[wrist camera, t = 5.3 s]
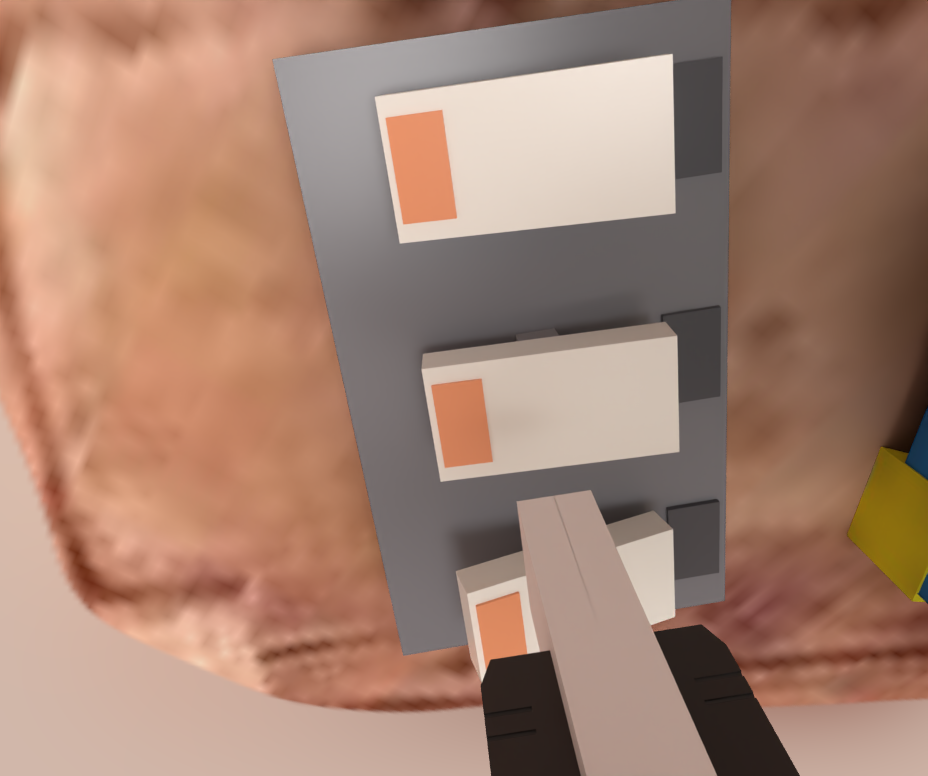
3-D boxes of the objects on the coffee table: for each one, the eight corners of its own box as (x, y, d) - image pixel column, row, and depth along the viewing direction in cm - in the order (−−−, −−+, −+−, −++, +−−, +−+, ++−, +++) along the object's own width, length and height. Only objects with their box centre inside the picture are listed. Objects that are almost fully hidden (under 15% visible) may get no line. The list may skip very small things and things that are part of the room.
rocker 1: (664, 54, 18) (673, 53, 16) (667, 202, 19) (675, 214, 18) (386, 93, 19) (373, 96, 18) (409, 231, 20) (399, 244, 19)
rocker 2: (663, 319, 21) (678, 337, 20) (666, 429, 22) (680, 453, 21) (423, 351, 21) (421, 370, 20) (441, 458, 23) (440, 483, 21)
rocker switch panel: (676, 6, 23) (743, -11, 18) (685, 538, 31) (733, 613, 26) (292, 62, 22) (268, 58, 18) (402, 585, 30) (403, 669, 26)
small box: (650, 507, 25) (674, 530, 23) (653, 592, 26) (676, 618, 25) (453, 567, 23) (468, 596, 22) (469, 654, 25) (483, 685, 23)
